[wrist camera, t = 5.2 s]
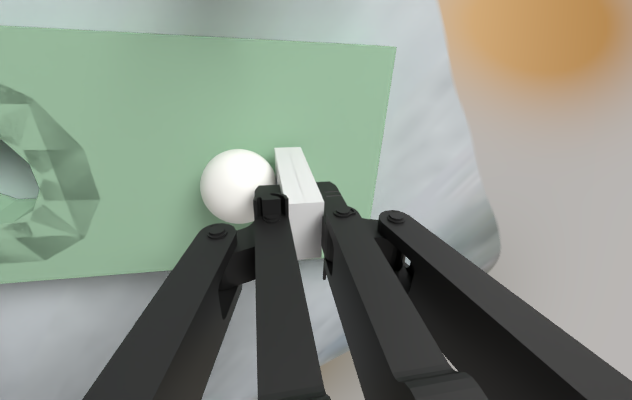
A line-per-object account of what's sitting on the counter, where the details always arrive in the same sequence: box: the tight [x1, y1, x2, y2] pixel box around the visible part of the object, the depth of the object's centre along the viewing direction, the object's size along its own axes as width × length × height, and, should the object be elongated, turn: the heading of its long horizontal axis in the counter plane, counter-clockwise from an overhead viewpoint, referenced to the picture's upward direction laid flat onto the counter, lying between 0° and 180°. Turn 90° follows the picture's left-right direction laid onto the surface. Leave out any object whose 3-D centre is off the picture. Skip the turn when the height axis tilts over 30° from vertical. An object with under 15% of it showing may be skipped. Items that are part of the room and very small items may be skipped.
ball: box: [200, 149, 277, 224], centre depth 16 cm, size 4×4×4 cm
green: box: [0, 26, 396, 284], centre depth 13 cm, size 14×29×15 cm, turn 88°
